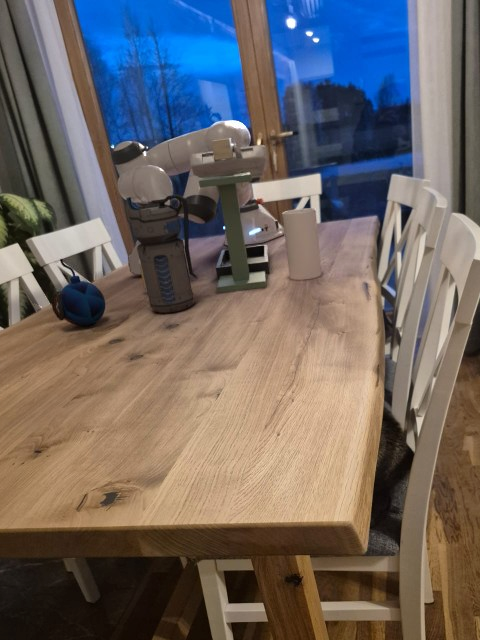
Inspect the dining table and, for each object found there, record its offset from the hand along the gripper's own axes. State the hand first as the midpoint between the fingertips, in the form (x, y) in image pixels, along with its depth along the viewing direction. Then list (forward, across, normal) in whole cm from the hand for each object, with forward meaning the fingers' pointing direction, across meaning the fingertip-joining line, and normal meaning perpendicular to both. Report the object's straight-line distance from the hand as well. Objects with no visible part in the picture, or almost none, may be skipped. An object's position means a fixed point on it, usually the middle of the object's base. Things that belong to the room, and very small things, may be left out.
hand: (225, 145), depth 145 cm
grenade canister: (+7, -15, +42) cm, 45 cm away
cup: (-6, +16, +34) cm, 38 cm away
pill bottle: (-9, -23, +32) cm, 41 cm away
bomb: (+12, -35, +44) cm, 58 cm away
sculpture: (-34, -29, +18) cm, 48 cm away
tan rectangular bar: (+3, 0, +5) cm, 6 cm away
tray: (-24, 0, +24) cm, 34 cm away
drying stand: (-5, 0, +34) cm, 35 cm away
